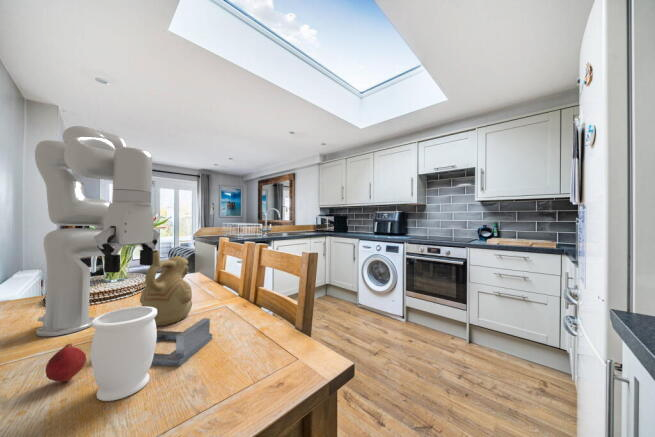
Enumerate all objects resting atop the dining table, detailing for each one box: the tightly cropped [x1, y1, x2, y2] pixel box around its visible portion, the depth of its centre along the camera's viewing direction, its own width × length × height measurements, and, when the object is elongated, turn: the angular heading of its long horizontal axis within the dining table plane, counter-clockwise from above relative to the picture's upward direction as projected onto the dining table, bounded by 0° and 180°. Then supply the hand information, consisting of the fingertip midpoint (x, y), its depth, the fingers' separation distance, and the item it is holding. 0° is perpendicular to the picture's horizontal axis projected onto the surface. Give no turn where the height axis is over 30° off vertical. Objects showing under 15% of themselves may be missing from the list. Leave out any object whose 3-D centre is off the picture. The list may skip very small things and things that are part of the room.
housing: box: [151, 317, 213, 368], centre depth 65 cm, size 22×14×6 cm, turn 85°
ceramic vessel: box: [139, 249, 193, 327], centre depth 85 cm, size 17×20×25 cm
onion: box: [45, 342, 87, 383], centre depth 51 cm, size 6×6×8 cm
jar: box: [90, 305, 158, 402], centre depth 50 cm, size 11×10×15 cm
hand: (130, 268), depth 59 cm, fingers open, 9 cm apart
